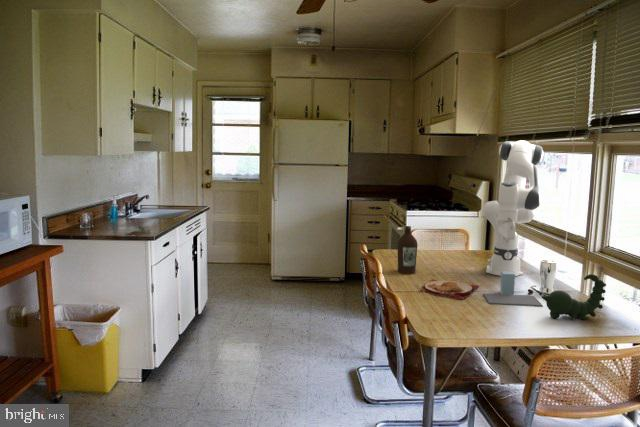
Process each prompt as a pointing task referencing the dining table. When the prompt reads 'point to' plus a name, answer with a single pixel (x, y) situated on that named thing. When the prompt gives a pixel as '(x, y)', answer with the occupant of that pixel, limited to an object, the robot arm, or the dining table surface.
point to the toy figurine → (566, 305)
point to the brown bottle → (407, 252)
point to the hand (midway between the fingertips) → (505, 245)
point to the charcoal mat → (512, 299)
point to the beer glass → (547, 275)
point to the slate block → (507, 283)
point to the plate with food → (449, 288)
